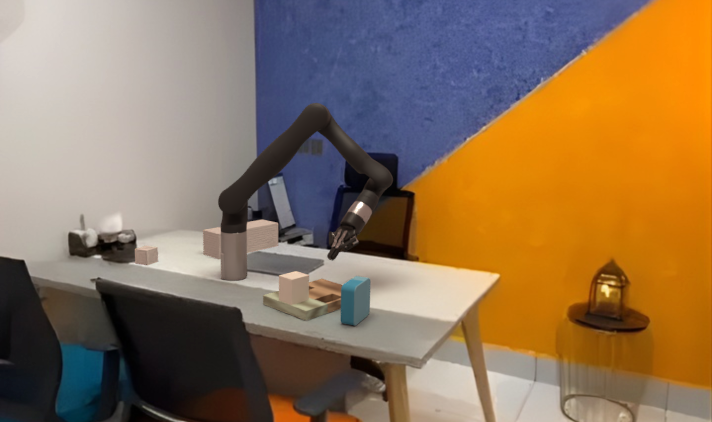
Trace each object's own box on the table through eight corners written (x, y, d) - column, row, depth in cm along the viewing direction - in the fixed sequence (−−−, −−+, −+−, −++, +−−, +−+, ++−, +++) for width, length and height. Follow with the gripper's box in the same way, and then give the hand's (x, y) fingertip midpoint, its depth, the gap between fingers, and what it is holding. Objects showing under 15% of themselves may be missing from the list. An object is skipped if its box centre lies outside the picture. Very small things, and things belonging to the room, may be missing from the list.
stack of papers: (262, 242, 269) (262, 219, 267) (278, 246, 262) (278, 222, 260) (203, 255, 245) (202, 229, 243) (219, 259, 238) (218, 233, 236)
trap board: (321, 286, 206) (322, 278, 205) (364, 300, 193) (364, 291, 192) (263, 304, 187) (263, 295, 187) (305, 320, 174) (305, 311, 173)
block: (295, 295, 187) (295, 271, 186) (308, 299, 183) (308, 275, 182) (278, 300, 182) (278, 275, 181) (291, 305, 178) (291, 279, 177)
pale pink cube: (158, 262, 233) (157, 247, 232) (147, 265, 227) (146, 250, 226) (146, 260, 235) (145, 245, 234) (135, 263, 230) (134, 248, 229)
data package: (356, 311, 182) (357, 274, 180) (369, 314, 181) (370, 276, 178) (340, 324, 171) (340, 285, 169) (354, 327, 170) (355, 287, 168)
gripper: (337, 208, 201) (310, 248, 194) (366, 214, 192) (338, 256, 186) (347, 221, 206) (321, 261, 199) (376, 227, 197) (349, 269, 190)
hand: (329, 258), depth 192 cm, fingers closed
